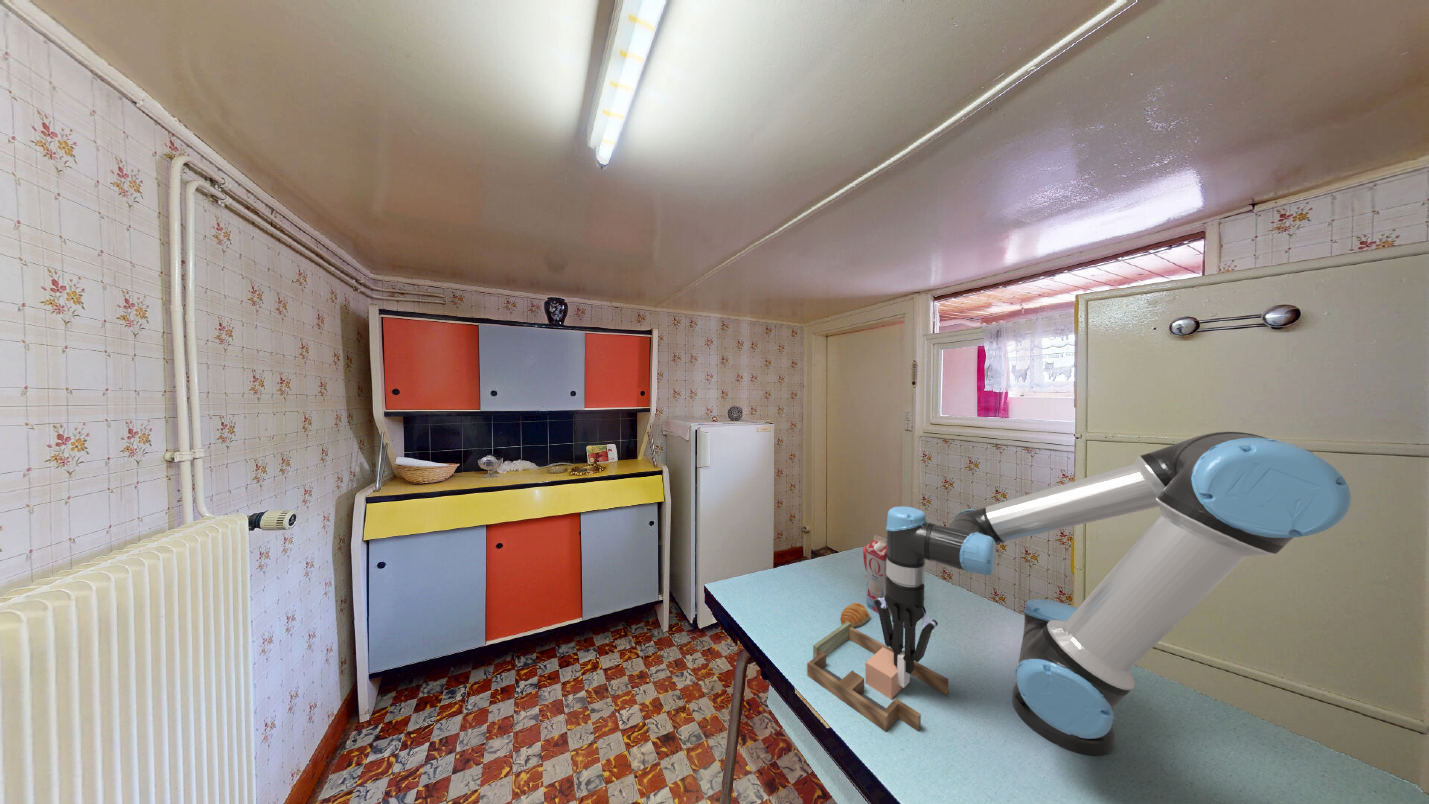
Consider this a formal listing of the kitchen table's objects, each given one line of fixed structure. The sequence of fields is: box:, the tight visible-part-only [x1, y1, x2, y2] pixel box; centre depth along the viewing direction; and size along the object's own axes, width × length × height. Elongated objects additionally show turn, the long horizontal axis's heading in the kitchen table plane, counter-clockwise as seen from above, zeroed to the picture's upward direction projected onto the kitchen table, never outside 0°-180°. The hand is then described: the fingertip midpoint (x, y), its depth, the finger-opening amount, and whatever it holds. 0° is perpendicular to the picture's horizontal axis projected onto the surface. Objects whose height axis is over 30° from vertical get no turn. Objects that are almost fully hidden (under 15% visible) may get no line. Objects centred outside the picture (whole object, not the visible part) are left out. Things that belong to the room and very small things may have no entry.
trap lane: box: [806, 622, 950, 733], centre depth 87 cm, size 25×20×4 cm
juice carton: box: [866, 533, 892, 616], centre depth 115 cm, size 7×7×22 cm
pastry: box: [840, 602, 871, 629], centre depth 110 cm, size 9×7×4 cm
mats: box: [821, 666, 887, 711], centre depth 84 cm, size 17×4×1 cm, turn 39°
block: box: [864, 647, 904, 701], centre depth 87 cm, size 6×8×5 cm
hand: (903, 682), depth 84 cm, fingers closed
